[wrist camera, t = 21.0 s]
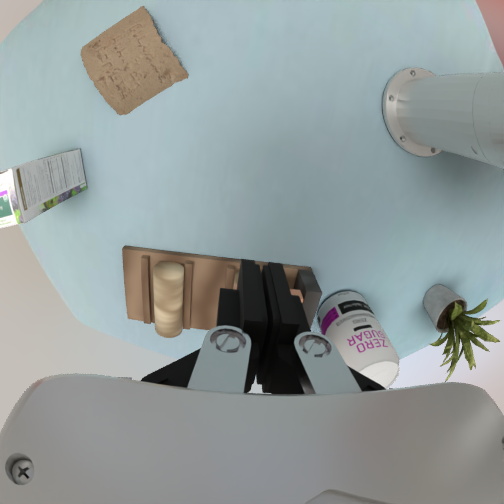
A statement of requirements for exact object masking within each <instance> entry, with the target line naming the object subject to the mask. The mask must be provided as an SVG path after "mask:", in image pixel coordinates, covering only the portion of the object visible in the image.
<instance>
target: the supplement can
mask: <svg viewBox="0 0 504 504" xmlns="http://www.w3.org/2000/svg"><path fill="white" fill-rule="evenodd" d="M317 319H318V324H319V327H320V330H321V333H322V334H323V335H325V336H327V337H328V338H329V339H331V340H332V342H333V343H334V344H335V346H336V348H337V349H338V351H339V353H340V354H341V356H342V358H343V359H344V361H345V363H346V365H347V366H349V367H351V368H352V369H354V370H356V371H358V372H359V373H361V374H363V375H364V376H366V377H368V378H370V379H371V380H373V381H375V382H377V383H379V384H380V385H382V386H383V387H384V388H385V389H387V388H388V387H389V386H390V385H392V384H393V383H394V381H395V380H396V378H397V377H398V375H399V357H398V354H397V352H396V351H395V349H394V347H393V345H392V344H391V342H390V340H389V339H388V337H387V335H386V334H385V332H384V330H383V329H382V327H381V325H380V324H379V322H378V320H377V319H376V317H375V315H374V314H373V312H372V310H371V309H370V307H369V306H368V304H367V302H366V301H365V299H364V298H363V296H361V295H360V294H358V293H356V292H351V291H346V292H340V293H338V294H335V295H333V296H331V297H330V298H329V299H327V300H326V301H325V302H324V303H323V305H322V306H321V307H320V309H319V312H318V316H317Z"/></svg>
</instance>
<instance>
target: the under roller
mask: <svg viewBox="0 0 504 504" xmlns="http://www.w3.org/2000/svg"><path fill="white" fill-rule="evenodd" d="M183 284H184V267H183V266H182V265H181V264H179V263H176V262H171V261H165V262H160V263H157V264H156V265H155V266H154V267H153V287H154V315H155V330H156V332H157V334H159V335H160V336H162V337H166V338H173V337H176V336H178V335H180V334H181V332H182V319H183Z"/></svg>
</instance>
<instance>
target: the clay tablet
mask: <svg viewBox="0 0 504 504" xmlns="http://www.w3.org/2000/svg"><path fill="white" fill-rule="evenodd" d="M146 10H147V9H145V8H144V6H141V7H140V8H139V9H138V10H136V11H135V12H133V13H132V14H130V15H128V16H127V17H125V18H124V19H122V20H121V21H119V22H118V23H116V24H115V25H113V26H112V27H110V28H109V29H107V30H106V31H104V32H103V33H102V34H100V35H99V36H97V37H96V38H95V39H93V40H92V41H90V42H89V43H88V44H86V45H85V46H84V47H82V49H81V57H82V61H83V62H84V66H85V68H86V70H87V73H88V75H89V77H90V79H91V80H93V82H94V85H95V86H96V88H97V89H98V90H99V93H100V94H101V95H102V96H103V97H104V99H105V100H106V102H107V103H108V104H109V105H110V106H111V107H112V108H113V109H114V110H116V112H117V114H119V115H122V114H125V115H126V114H128V113H130V112H131V111H132V110H134V109H135V108H136V107H138V106H140V105H141V104H142V103H144V102H145V101H147V100H149V99H150V98H152V97H154V96H155V95H157V94H158V93H160V92H162V91H163V90H165V89H166V88H168V87H170V86H172V85H173V84H174V83H175V82H178V81H182V80H183V79H185V78H188V74H187V72H186V71H185V70H184V69H183V67H182V66H181V65H179V64H180V62H179V61H178V58H177V57H174V55H173V52H172V51H171V50H170V48H169V47H168V46H166V45H165V44H164V43H162V41H161V37H160V36H159V35H158V33H157V29H156V28H155V27H154V26H153V23H154V22H153V21H152V20H151V19H152V18H151V17H150V15H149V14H148V12H146Z"/></svg>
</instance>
